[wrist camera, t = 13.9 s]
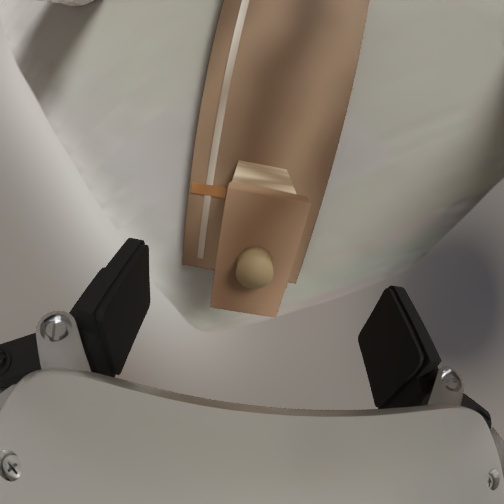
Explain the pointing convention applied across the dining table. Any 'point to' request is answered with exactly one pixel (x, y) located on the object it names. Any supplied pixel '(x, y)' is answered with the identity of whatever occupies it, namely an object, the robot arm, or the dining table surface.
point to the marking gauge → (257, 240)
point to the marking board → (271, 106)
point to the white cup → (70, 2)
